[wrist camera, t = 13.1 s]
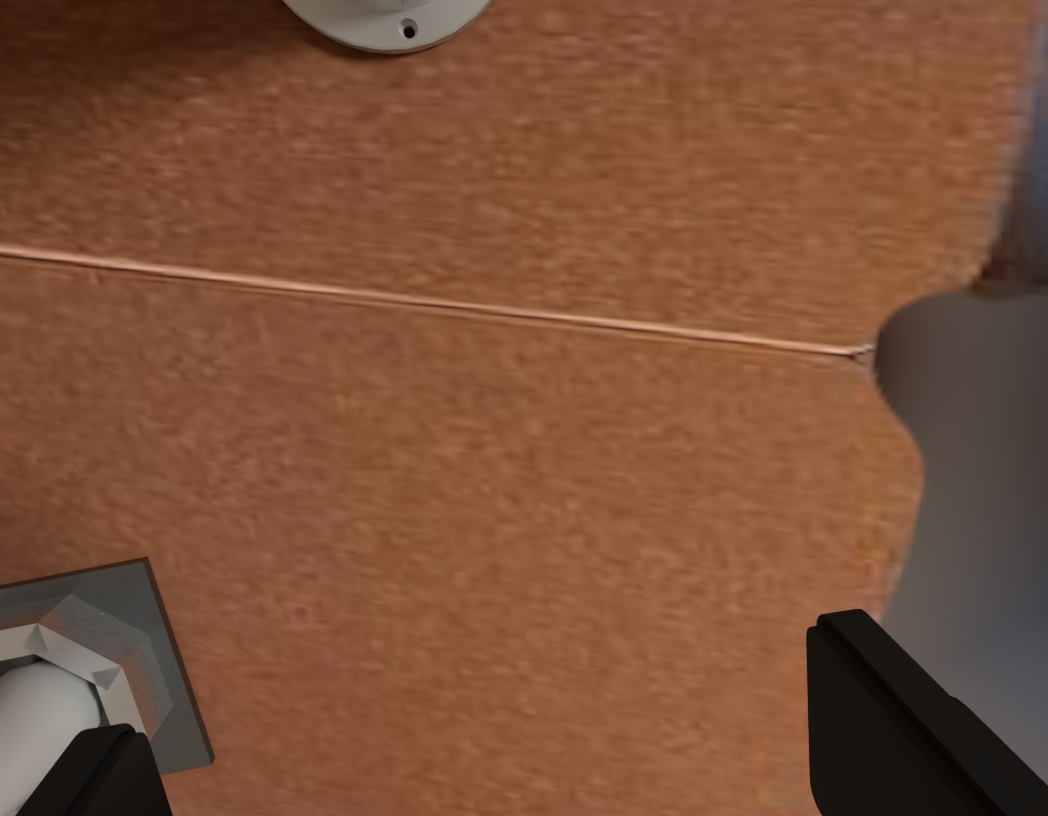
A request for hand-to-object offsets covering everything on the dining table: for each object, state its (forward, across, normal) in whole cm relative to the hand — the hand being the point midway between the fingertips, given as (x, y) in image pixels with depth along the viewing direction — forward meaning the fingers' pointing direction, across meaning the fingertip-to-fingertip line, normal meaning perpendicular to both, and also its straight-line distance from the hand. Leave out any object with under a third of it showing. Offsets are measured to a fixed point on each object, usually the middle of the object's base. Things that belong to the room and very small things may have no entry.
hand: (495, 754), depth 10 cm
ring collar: (+28, +25, +15) cm, 41 cm away
